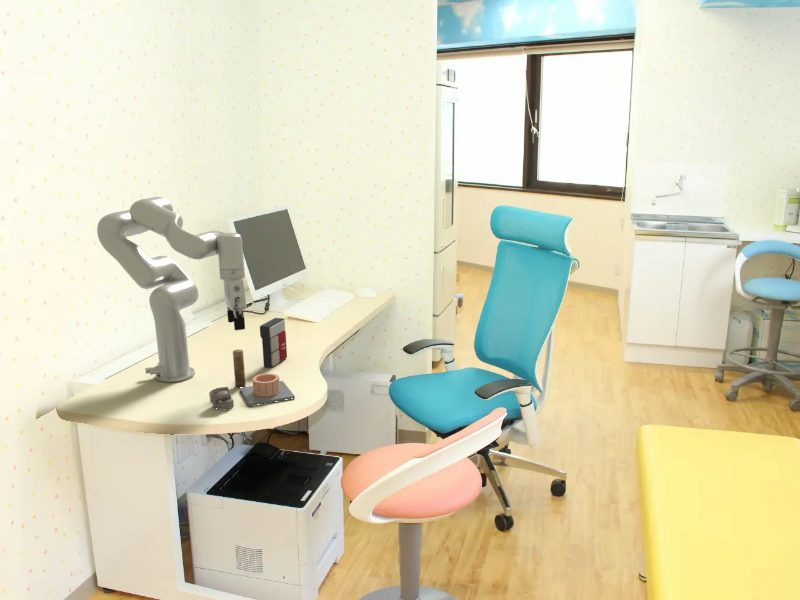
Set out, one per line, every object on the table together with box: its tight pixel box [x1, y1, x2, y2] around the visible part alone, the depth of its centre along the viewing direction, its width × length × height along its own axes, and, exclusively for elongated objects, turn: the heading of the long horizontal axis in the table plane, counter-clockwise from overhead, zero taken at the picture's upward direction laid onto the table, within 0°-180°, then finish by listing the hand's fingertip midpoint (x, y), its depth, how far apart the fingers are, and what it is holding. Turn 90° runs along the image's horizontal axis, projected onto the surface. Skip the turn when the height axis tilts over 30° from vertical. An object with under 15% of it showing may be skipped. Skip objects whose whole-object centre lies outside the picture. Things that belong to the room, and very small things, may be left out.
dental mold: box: [208, 386, 235, 411], centre depth 214 cm, size 8×7×5 cm
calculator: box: [259, 317, 288, 369], centre depth 250 cm, size 11×4×15 cm, turn 160°
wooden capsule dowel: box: [232, 349, 246, 389], centre depth 229 cm, size 3×3×12 cm
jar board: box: [239, 372, 296, 407], centre depth 222 cm, size 14×14×6 cm
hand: (236, 325), depth 225 cm, fingers open, 9 cm apart
